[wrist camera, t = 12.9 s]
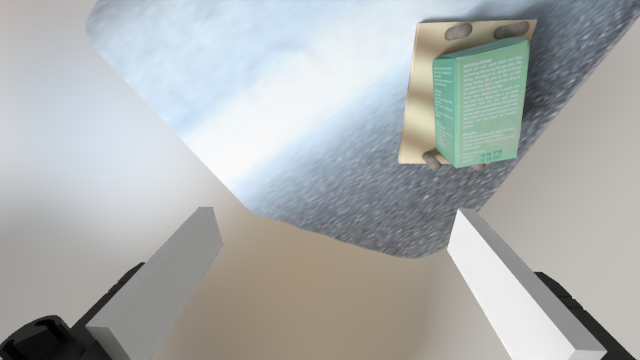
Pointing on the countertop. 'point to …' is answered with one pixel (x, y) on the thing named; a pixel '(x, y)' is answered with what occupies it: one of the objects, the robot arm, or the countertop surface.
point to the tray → (420, 95)
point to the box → (480, 102)
